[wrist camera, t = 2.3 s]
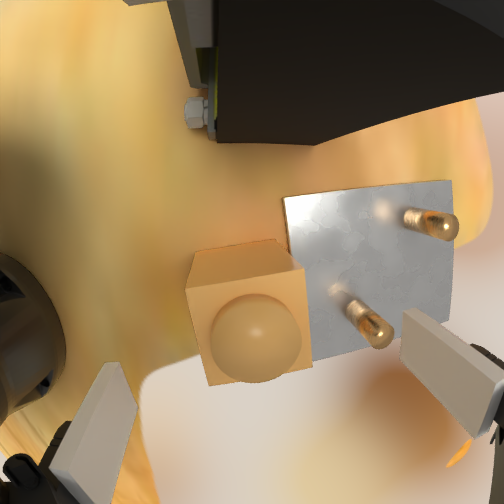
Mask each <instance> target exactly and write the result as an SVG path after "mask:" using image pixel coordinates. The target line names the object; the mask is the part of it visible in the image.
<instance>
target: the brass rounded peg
mask: <svg viewBox="0 0 504 504" xmlns="http://www.w3.org/2000/svg"><path fill="white" fill-rule="evenodd" d="M404 224H405V226H406V228H407V229H409V230H411V231H414V232H418V233H421V234H425V235H428V236H431V237H434V238H438V239H441V240H444V241H448V242H449V241H452V240H454V239H455V238H456V236H457V234H458V231H459V222H458V219H457V217H456V216H455V215H453V214H449V213H444V212H438V211H433V210H427V209H422V208H416V207H411V208H409V209H408V210H407V211H406V212H405V215H404Z"/></svg>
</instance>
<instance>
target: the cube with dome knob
mask: <svg viewBox="0 0 504 504" xmlns="http://www.w3.org/2000/svg"><path fill="white" fill-rule="evenodd" d="M185 293H186V297H187V301H188V306H189V310H190V314H191V319H192V323H193V327H194V331H195V335H196V339H197V343H198V347H199V351H200V355H201V358H202V363H203V366H204V370H205V373H206V377H207V381H208V384H209V386H213V385H221V384H228V383H234V382H240V381H241V382H246V383H260V382H266V381H270V380H272V379H275V378H277V377H279V376H281V375H282V374H284V373H289V372H293V371H298V370H303V369H307V368H311V367H313V366H312V351H311V337H310V325H309V313H308V301H307V290H306V280H305V270H304V268H303V267H302V266H301V265H300V264H299V263H298V262H297V261H296V260H295V259H294V258H293V257H292V256H291V255H290V254H289V253H288V252H287V251H286V250H285V249H284V248H283V247H282V246H281V245H280V244H279V243H278V242H277V241H276V240H275V239H270V240H264V241H258V242H252V243H246V244H240V245H234V246H228V247H222V248H216V249H210V250H204V251H198V252H196V253H195V256H194V260H193V263H192V266H191V269H190V273H189V276H188V279H187V283H186V286H185Z"/></svg>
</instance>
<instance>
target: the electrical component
mask: <svg viewBox="0 0 504 504" xmlns="http://www.w3.org/2000/svg"><path fill="white" fill-rule="evenodd" d="M123 1H124V2H125V3H126V4H128V5H129V6H132V5H138V4H145V3H153V2H161V1H167V4H168V8H169V11H170V15H171V19H172V22H173V26H174V30H175V33H176V37H177V41H178V44H179V48H180V52H181V55H182V59H183V62H184V66H185V70H186V73H187V77H188V80H189V84H190V87H192V88H198V89H199V88H208V100H204V98H203V97H189V98H188V99H187V103H186V104H185V107H184V118H185V121H186V123H187V126H188V128H203V126H204V125H207V132H208V138H209V140H214V139H217V143H269V144H294V145H312V146H315V145H318V144H320V143H323V142H326V141H329V140H332V139H335V138H338V137H341V136H344V135H347V134H349V133H353V132H356V131H359V130H362V129H365V128H368V127H371V126H374V125H377V124H381V123H384V122H387V121H390V120H394V119H397V118H400V117H404V116H407V115H411V114H414V113H418V112H421V111H425V110H429V109H432V108H436V107H440V106H444V105H447V104H451V103H455V102H459V101H464V100H468V99H472V98H476V97H480V96H485V95H489V94H495V93H499V92H504V0H123Z"/></svg>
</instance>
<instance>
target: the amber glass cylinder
mask: <svg viewBox="0 0 504 504" xmlns="http://www.w3.org/2000/svg"><path fill="white" fill-rule="evenodd" d="M345 316H346V318H347V319H348V321H349V322H350V323H351V324H352V325H353V326H354V327H355V328H356V329H357V330H358V331H359V332H360V334H361V335H362V336H363V337H364V338H365V339H366V340H367V341H368V342H369V343H370V344H371V346H372V347H373V348H375V349H383V348H385V347H387V346H388V345H389V344H390V343H391V342H392V340H393V338H394V334H395V331H394V328H393V327H392V326H391V325H390V324H389V323H388V322H386V321H385V320H384V319H383V318H382V317H381V316H380V315H378V314H377V313H376V312H375V311H374V310H373V309H371V308H370V307H369V306H368V305H367V304H366V303H364V302H363V301H361V300H354V301H352V302H350V303H349V304H348V306H347V307H346V310H345Z"/></svg>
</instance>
